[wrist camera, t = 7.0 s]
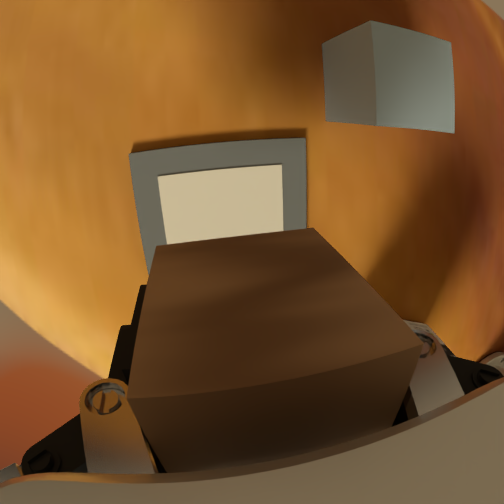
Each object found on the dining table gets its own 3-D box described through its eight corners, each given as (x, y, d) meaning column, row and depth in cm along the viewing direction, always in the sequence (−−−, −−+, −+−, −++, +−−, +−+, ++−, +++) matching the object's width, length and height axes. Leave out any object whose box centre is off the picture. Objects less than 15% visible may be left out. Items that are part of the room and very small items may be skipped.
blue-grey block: (390, 53, 16) (450, 42, 11) (393, 124, 18) (454, 133, 13) (321, 43, 16) (370, 20, 10) (325, 121, 18) (376, 125, 12)
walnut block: (313, 227, 10) (424, 343, 5) (308, 346, 12) (368, 471, 7) (156, 245, 10) (126, 399, 4) (182, 364, 12) (189, 507, 6)
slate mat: (302, 137, 18) (306, 138, 17) (302, 286, 22) (305, 291, 21) (130, 153, 17) (128, 154, 16) (157, 304, 21) (156, 309, 20)
